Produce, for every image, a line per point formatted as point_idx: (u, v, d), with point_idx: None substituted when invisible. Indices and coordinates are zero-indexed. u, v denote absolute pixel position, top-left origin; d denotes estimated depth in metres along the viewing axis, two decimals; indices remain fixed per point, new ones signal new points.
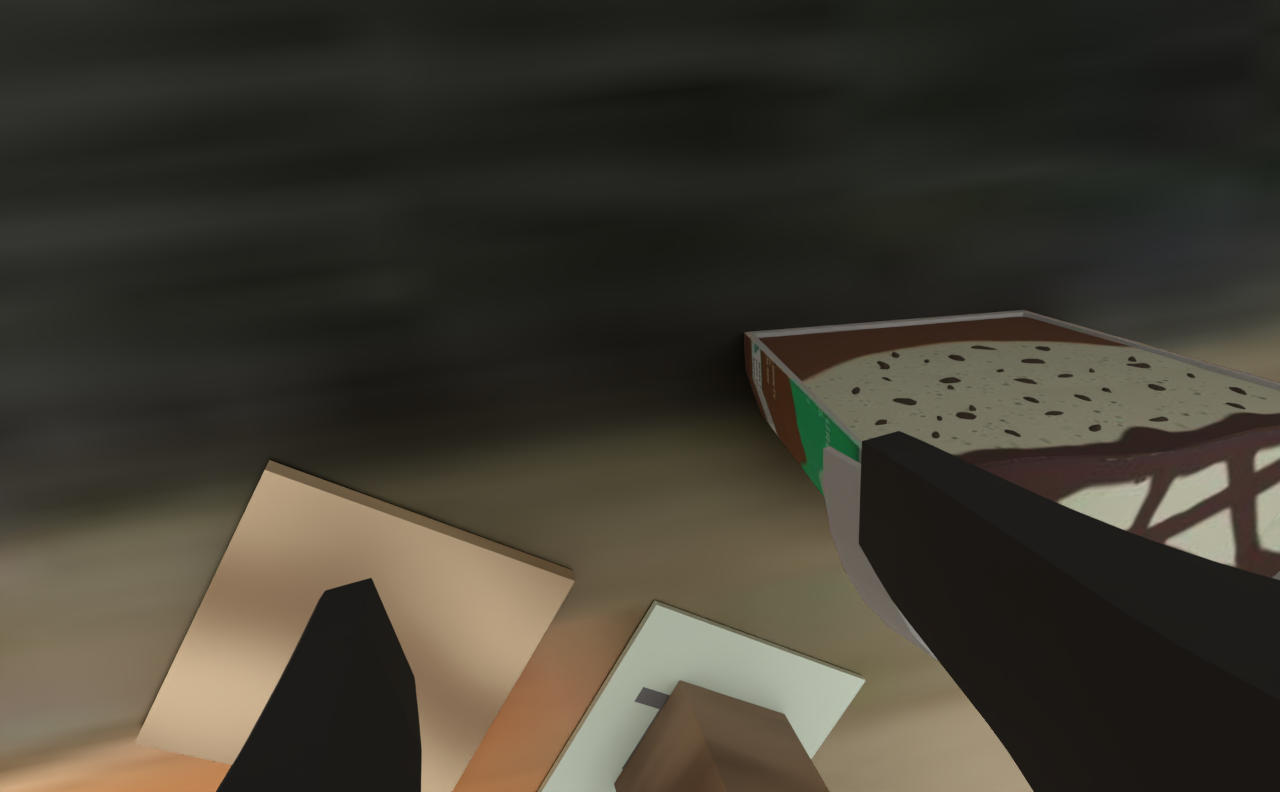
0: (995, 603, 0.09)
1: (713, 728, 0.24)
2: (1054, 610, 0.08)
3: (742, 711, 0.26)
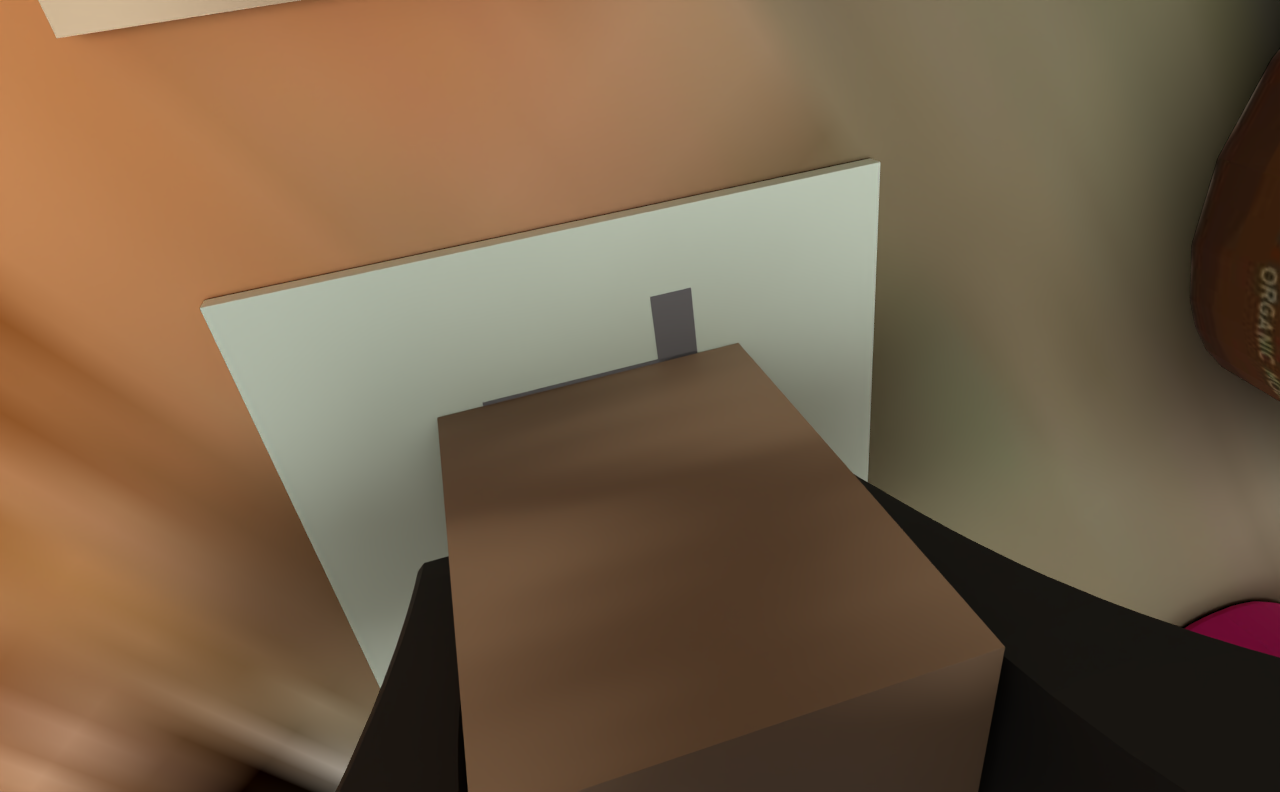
0: None
1: None
2: None
3: None
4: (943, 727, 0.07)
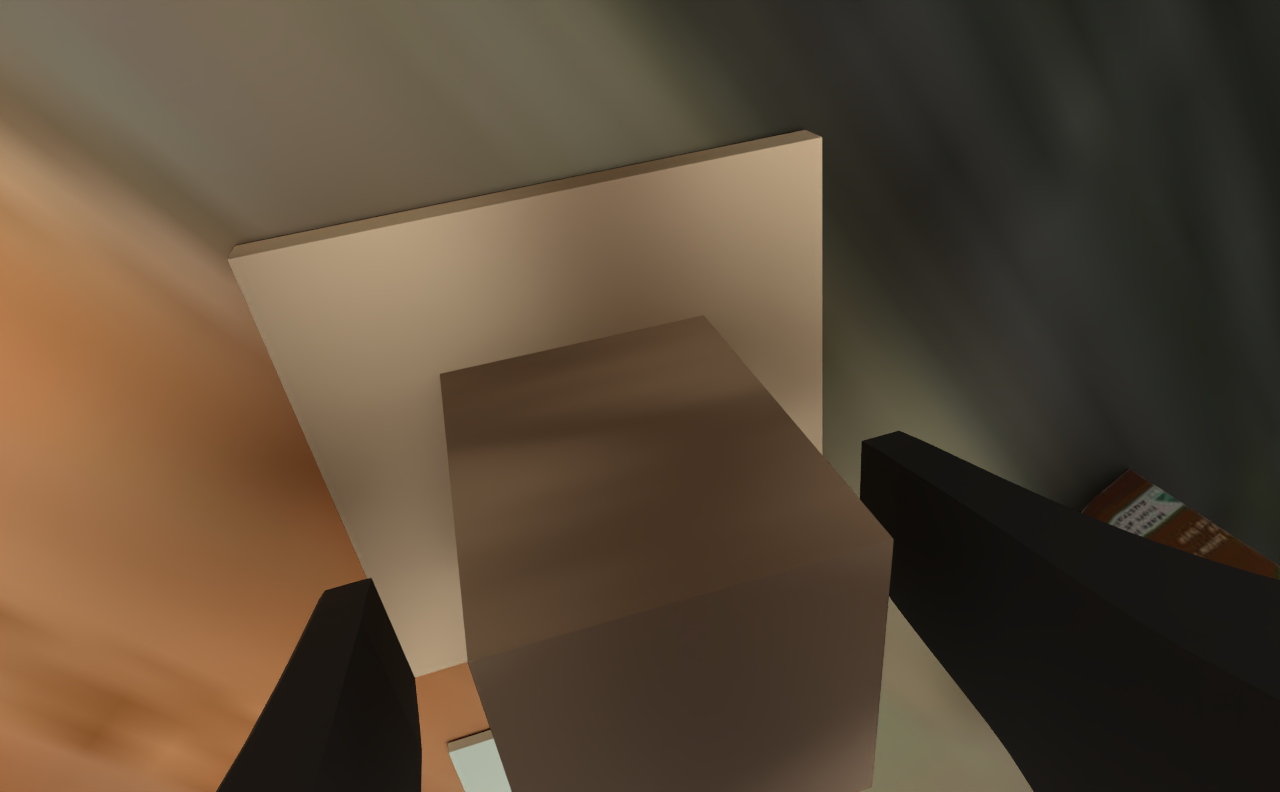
0: (995, 603, 0.09)
1: None
2: (1054, 610, 0.08)
3: None
4: (847, 608, 0.08)
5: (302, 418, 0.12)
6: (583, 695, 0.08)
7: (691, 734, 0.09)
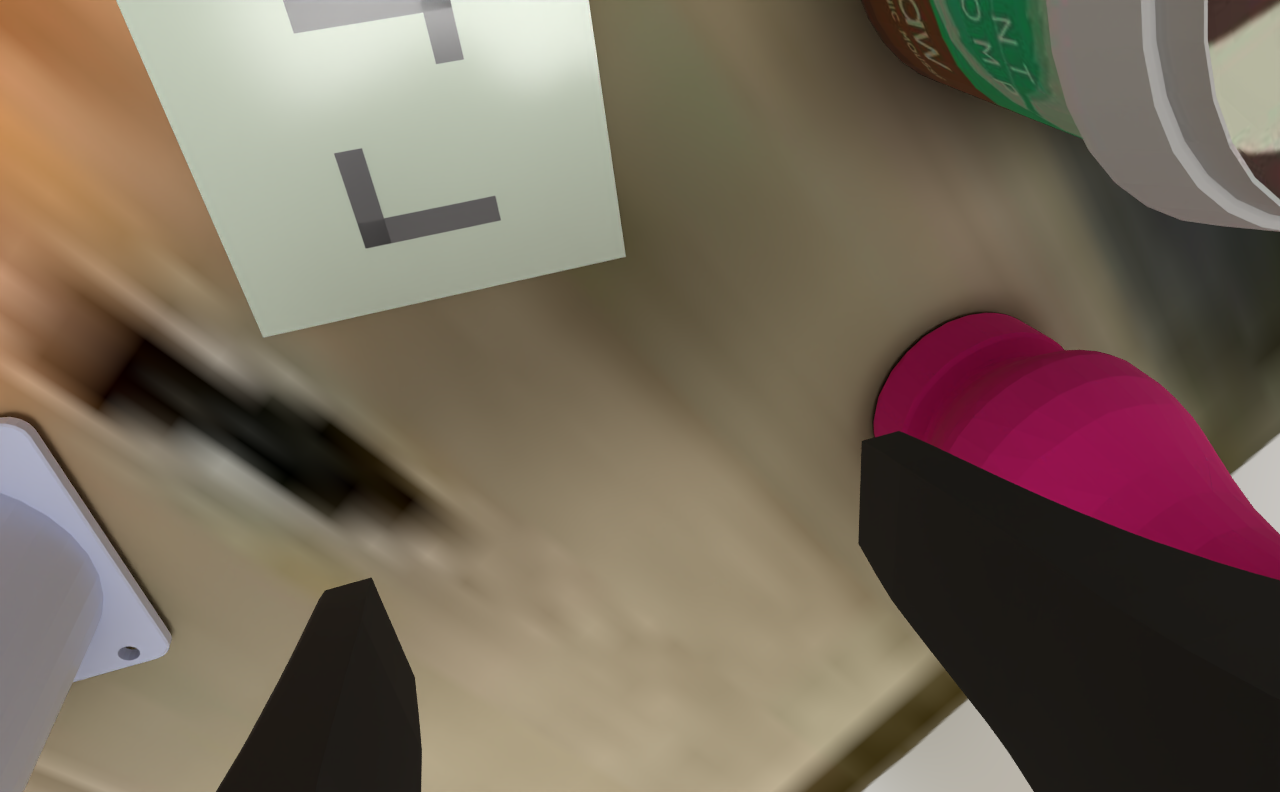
0: (995, 603, 0.09)
1: None
2: (1054, 610, 0.08)
3: None
4: None
5: None
6: None
7: None
